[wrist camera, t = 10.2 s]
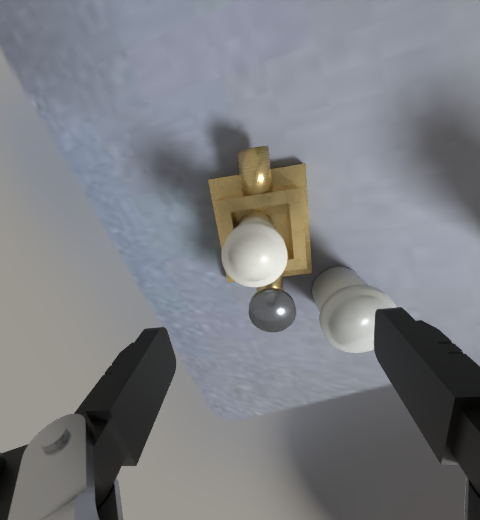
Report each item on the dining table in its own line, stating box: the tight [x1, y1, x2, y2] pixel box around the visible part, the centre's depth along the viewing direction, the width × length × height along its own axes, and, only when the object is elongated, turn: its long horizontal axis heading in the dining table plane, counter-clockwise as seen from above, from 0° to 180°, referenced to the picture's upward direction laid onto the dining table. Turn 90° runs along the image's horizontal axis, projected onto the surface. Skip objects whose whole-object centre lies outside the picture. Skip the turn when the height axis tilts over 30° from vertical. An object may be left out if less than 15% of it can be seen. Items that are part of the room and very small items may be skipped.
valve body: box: [208, 146, 312, 332], centre depth 24 cm, size 17×10×8 cm, turn 9°
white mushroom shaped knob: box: [221, 212, 288, 287], centre depth 22 cm, size 5×5×9 cm
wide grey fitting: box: [312, 267, 397, 353], centre depth 26 cm, size 7×7×7 cm
